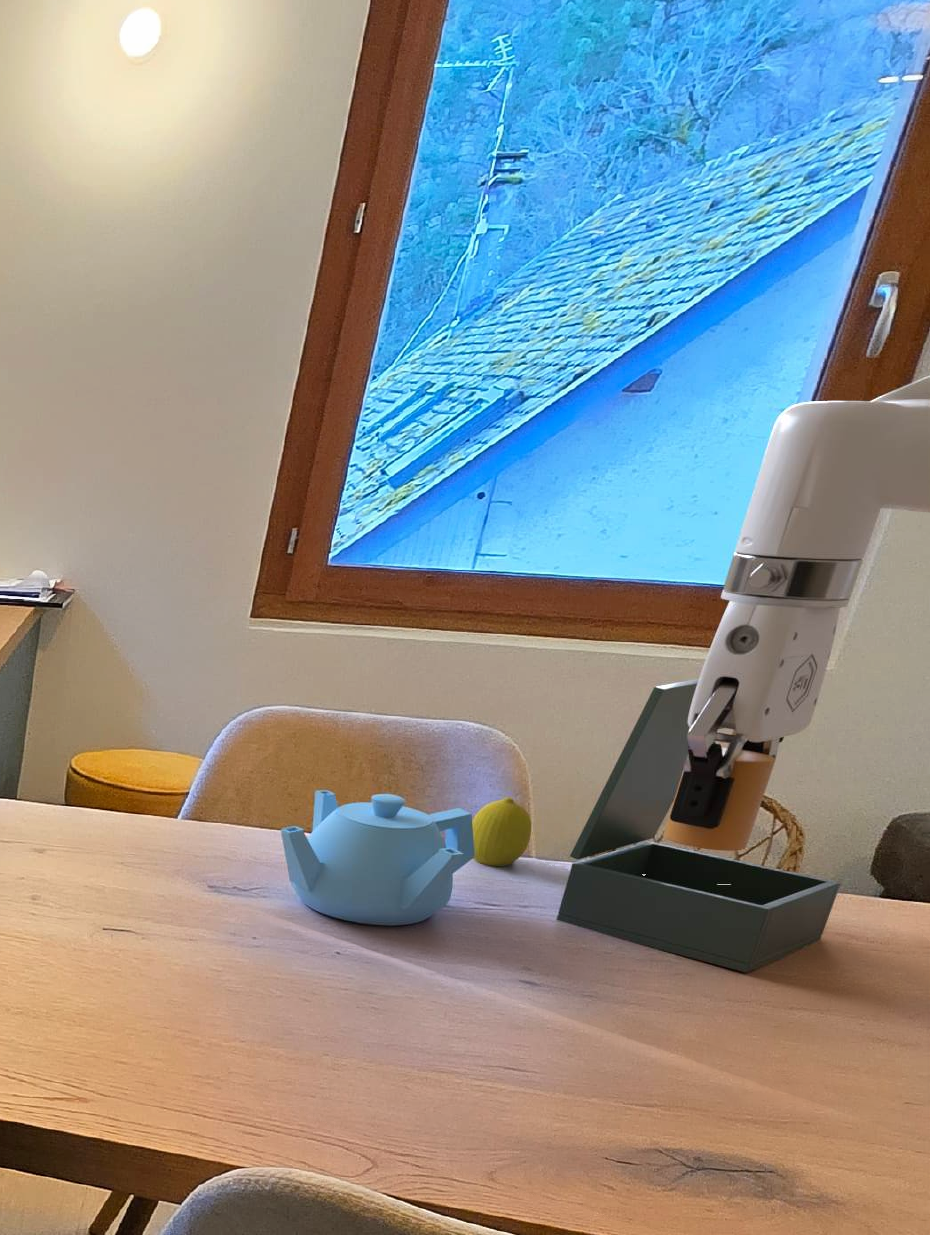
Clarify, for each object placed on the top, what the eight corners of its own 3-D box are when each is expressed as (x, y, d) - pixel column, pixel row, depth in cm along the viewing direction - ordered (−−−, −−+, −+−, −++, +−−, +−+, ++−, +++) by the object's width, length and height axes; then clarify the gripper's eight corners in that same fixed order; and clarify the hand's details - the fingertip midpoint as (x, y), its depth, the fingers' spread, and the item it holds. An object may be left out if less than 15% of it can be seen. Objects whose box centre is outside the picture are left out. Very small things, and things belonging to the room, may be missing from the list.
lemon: (530, 879, 146) (551, 805, 143) (476, 880, 146) (496, 806, 143) (501, 861, 151) (520, 789, 148) (448, 862, 151) (467, 790, 148)
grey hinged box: (819, 943, 129) (841, 882, 126) (746, 973, 121) (768, 909, 119) (631, 897, 141) (648, 840, 139) (555, 921, 134) (572, 862, 131)
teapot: (438, 947, 128) (468, 833, 123) (262, 912, 136) (284, 804, 131) (464, 896, 139) (493, 790, 134) (300, 867, 147) (322, 766, 142)
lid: (740, 675, 130) (731, 672, 130) (663, 689, 123) (654, 686, 123) (654, 838, 138) (645, 834, 139) (577, 860, 131) (569, 856, 132)
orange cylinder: (758, 844, 112) (788, 757, 109) (727, 854, 109) (757, 765, 106) (681, 828, 116) (708, 744, 113) (650, 837, 113) (676, 751, 110)
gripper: (798, 593, 98) (715, 846, 105) (898, 581, 106) (815, 816, 113) (676, 582, 103) (605, 822, 110) (780, 572, 112) (708, 796, 119)
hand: (712, 817), depth 112 cm, fingers closed on orange cylinder, 5 cm apart
